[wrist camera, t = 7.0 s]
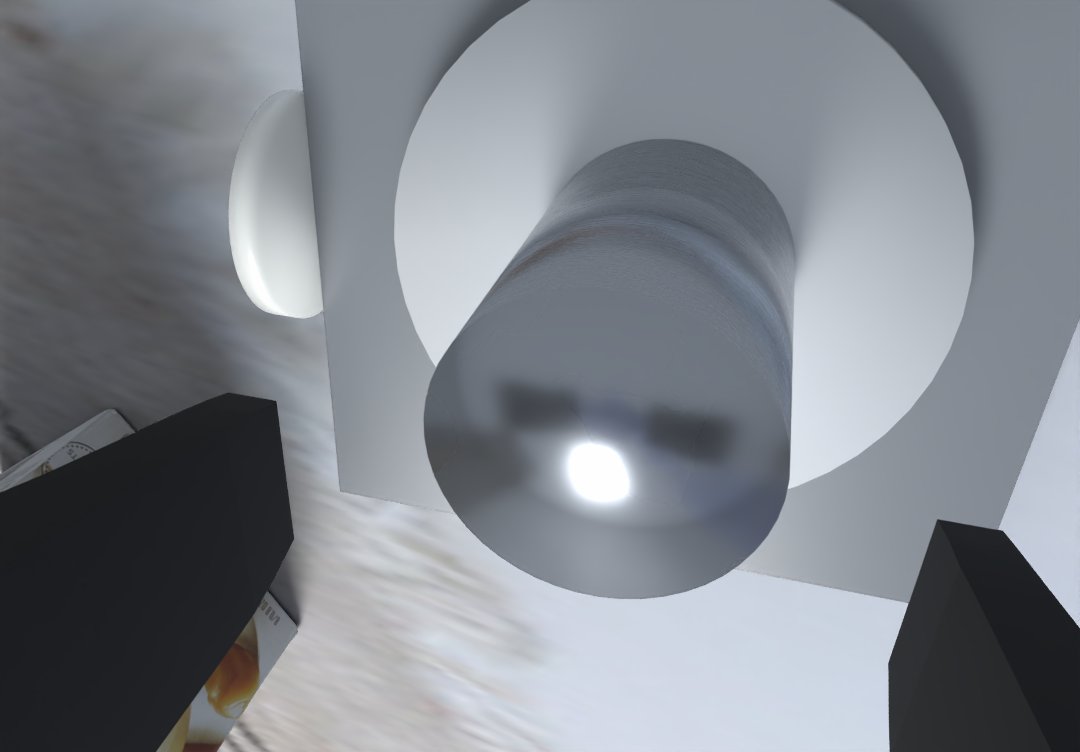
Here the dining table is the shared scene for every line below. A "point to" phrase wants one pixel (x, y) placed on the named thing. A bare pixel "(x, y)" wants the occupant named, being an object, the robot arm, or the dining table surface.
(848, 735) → the dining table surface
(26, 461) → the coffee box
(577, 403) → the cylinder
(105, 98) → the dining table surface
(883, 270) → the kitchen scale
